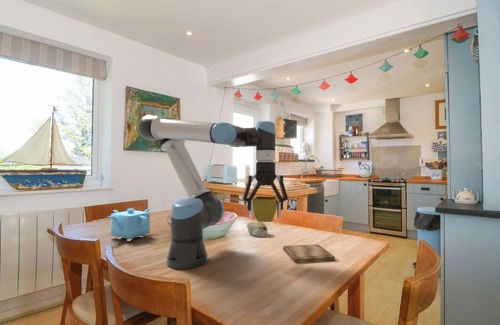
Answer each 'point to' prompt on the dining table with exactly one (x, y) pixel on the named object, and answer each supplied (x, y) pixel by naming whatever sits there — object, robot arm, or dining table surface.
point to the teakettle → (130, 223)
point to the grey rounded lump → (257, 229)
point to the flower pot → (264, 208)
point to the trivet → (308, 253)
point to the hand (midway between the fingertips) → (265, 218)
